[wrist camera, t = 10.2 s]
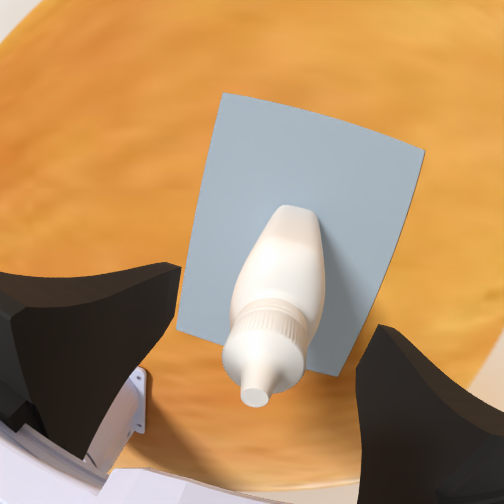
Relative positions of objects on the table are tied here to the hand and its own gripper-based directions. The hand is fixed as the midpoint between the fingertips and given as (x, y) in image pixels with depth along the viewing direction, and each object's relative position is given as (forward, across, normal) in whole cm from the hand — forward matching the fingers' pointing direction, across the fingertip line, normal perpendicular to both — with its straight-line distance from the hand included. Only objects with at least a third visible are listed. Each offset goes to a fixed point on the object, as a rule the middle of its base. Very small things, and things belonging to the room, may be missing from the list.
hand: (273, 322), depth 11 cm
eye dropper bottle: (+8, 0, 0) cm, 9 cm away
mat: (+8, 0, 0) cm, 8 cm away
